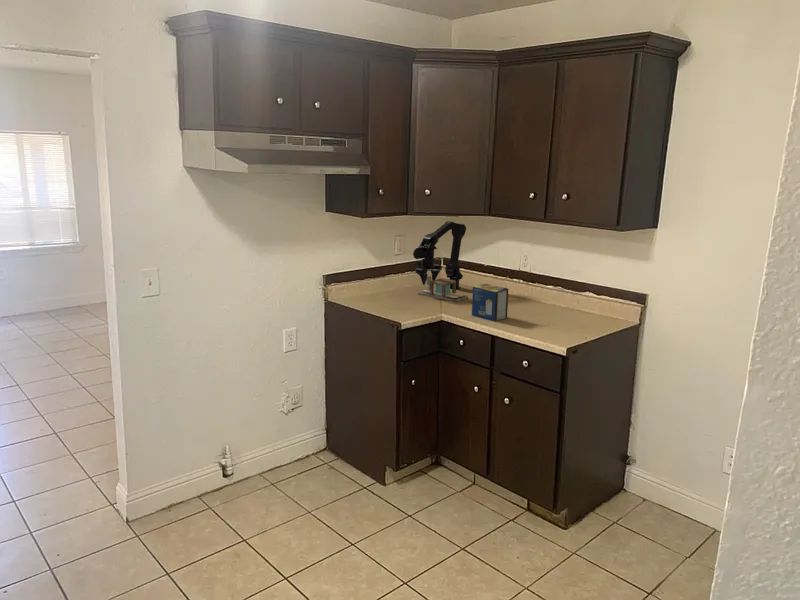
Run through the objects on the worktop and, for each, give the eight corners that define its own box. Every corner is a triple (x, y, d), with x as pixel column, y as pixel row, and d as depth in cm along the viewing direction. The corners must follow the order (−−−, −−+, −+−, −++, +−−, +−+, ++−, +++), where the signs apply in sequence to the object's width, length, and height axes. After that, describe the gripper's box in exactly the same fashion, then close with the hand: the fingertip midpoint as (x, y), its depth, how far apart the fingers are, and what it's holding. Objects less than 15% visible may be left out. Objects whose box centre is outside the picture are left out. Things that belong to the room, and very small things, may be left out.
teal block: (441, 291, 366) (441, 282, 365) (450, 292, 362) (450, 284, 361) (435, 292, 361) (435, 284, 360) (444, 294, 358) (444, 285, 356)
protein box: (484, 312, 328) (485, 283, 325) (507, 318, 317) (509, 288, 314) (470, 315, 322) (472, 286, 318) (494, 321, 311) (495, 291, 307)
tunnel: (430, 290, 375) (430, 276, 373) (467, 297, 359) (468, 282, 356) (417, 294, 366) (418, 279, 364) (456, 301, 349) (456, 286, 347)
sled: (430, 289, 372) (430, 275, 370) (463, 295, 358) (464, 281, 356) (422, 291, 366) (422, 277, 364) (456, 298, 352) (456, 283, 349)
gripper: (427, 253, 375) (427, 279, 379) (408, 257, 361) (408, 284, 365) (442, 255, 369) (442, 281, 372) (423, 260, 355) (423, 286, 358)
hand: (428, 283), depth 367 cm, fingers open, 9 cm apart
